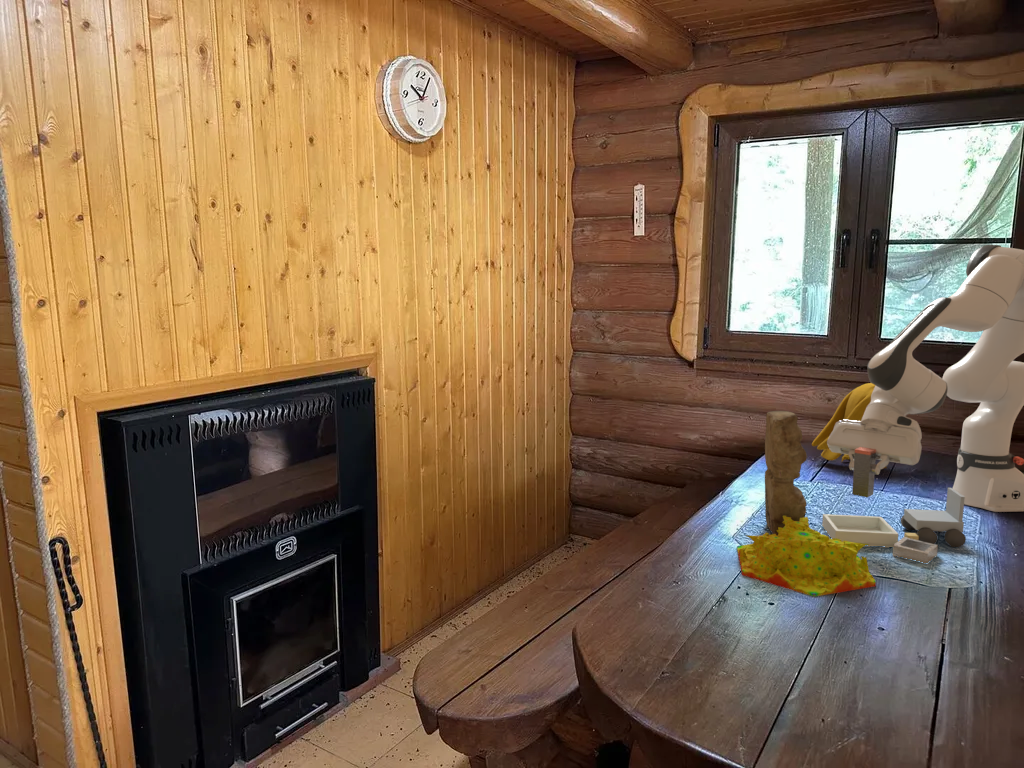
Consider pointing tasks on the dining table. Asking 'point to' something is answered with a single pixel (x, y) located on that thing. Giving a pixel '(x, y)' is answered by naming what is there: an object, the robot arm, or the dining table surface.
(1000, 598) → the dining table surface
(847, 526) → the tray
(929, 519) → the trolley
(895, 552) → the bracket
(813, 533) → the decorative piece
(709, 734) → the dining table surface
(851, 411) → the sculpture
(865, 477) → the pin
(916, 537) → the block
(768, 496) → the sculpture
